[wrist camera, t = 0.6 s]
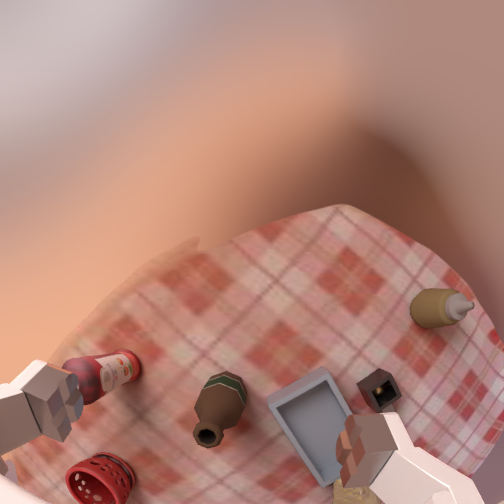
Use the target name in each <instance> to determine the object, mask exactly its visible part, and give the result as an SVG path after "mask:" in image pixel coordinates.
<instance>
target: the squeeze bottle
mask: <svg viewBox="0 0 504 504" xmlns="http://www.w3.org/2000/svg"><path fill="white" fill-rule="evenodd" d="M473 308H474V303H473V302H470V301H468V300H467V298H466V296H465V295H464V294H461V293H459V292H458V291H456V290H454V289H432V288H430V289H424V290H423V291H421V292H420V293H419V294H418V295H417V296H416V297H415V298H414V299H413V301H412V302H411V305H410V315H411V317H412V319H413V320H414V321H415V322H417V323H418V324H419V325H420V326H421V327H423V328H427V329H429V328H437V327H443V326H450V325H454V324H456V323H457V322H458V321H459V320H461V319H463V318H464V317H465V316H466V314H467V312H468V311H470V310H472V309H473Z"/></svg>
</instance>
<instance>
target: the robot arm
mask: <svg viewBox="0 0 504 504" xmlns="http://www.w3.org/2000/svg"><path fill="white" fill-rule="evenodd" d="M78 385H79V380H78V377H77V375H76V374H74V373H73V372H70V371H67V370H65V369H62V368H59V367H57V366H54V365H52V364H48V363H46V362H44V361H41V360H34V361H33V362H32V363H31V364H30V365H29V366H28V367H27V368H26V369H25V370H24V371H23V372H22V373H20V374H19V375H18V376H17V377H16V378H15V379H14V380H13V381H12V382H11V383H10V384H7V383H4V384H0V504H51V503H49V502H47V501H45V500H43V499H42V498H40V497H38V496H36V495H34V494H33V493H31V492H29V491H27V490H26V489H24V488H22V487H21V486H19V485H17V484H15V483H14V482H12V481H11V480H9V479H8V478H6V477H5V474H6V473H7V471H8V466H7V465H6V463H5V462H4V460H3V459H2V457H1V455H3V454H5V453H7V452H9V451H11V450H13V449H15V448H17V447H19V446H21V445H23V444H25V443H27V442H29V441H31V440H33V439H35V438H37V437H39V436H41V435H42V434H43V435H46V436H48V437H50V438H53V439H55V440H57V441H60V442H62V443H63V442H64V440H65V439H66V437H67V436H68V434H69V433H70V431H71V430H72V428H71V423H73V422H75V421H77V420H78V419H79V417H80V416H81V414H82V410H83V396H82V394H81V392H80V391H79V390H78V388H77V386H78ZM344 425H345V430H344V431H342V432H341V433H340V434H339V436H338V439H337V442H336V458H337V461H338V462H339V463H340V464H341V465H342V466H343V467H342V468H341V470H340V476H341V481H342V485H343V488H357V487H368V486H370V487H369V488H370V489H371V490H372V491H373V492H374V493H375V494H376V495H377V496H378V497H379V498H380V499H381V500H382V501H383V502H384V503H385V504H484V502H483V500H482V498H481V496H480V494H479V492H478V490H477V488H476V487H475V485H474V483H473V481H472V480H471V479H470V478H468V477H466V476H464V475H463V474H461V473H459V472H458V471H456V470H454V469H453V468H451V467H449V466H448V465H446V464H445V463H443V462H441V461H440V460H438V459H437V458H435V457H433V456H432V455H430V454H429V453H427V452H425V451H424V450H422V449H421V448H419V447H415V448H414V446H413V443H412V441H411V439H410V437H409V435H408V433H407V431H406V429H405V427H404V425H403V423H402V421H401V419H400V417H399V415H398V414H397V413H396V412H388V413H380V414H379V413H376V414H355V415H349V416H348V417H347V418H346V421H345V423H344ZM497 504H504V500H503V501H501V502H499V503H497Z"/></svg>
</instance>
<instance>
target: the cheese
mask: <svg viewBox="0 0 504 504" xmlns="http://www.w3.org/2000/svg"><path fill="white" fill-rule="evenodd" d="M333 485H334V490H333V495H334V498H333V502H332V504H381V501H380V498H379V497H378V496H377V495H376V494H375V493H374V492H373V491H372V490H371V489H370V488H369V486H368V487H357V488H343V485H342V481H341V478H340V479H337V480H336V481H335V482H334V483H333Z"/></svg>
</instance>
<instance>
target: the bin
mask: <svg viewBox="0 0 504 504" xmlns="http://www.w3.org/2000/svg"><path fill="white" fill-rule="evenodd" d="M267 402H268V407H269V408H270V410H271V412H272V413H273V415H274V416H275V418H276V420H277V421H278V423H279V424H280V426H281V427H282V429H283V431H284V432H285V434H286V435H287V437H288V438H289V440H290V441H291V443H292V444H293V446H294V447H295V449H296V451H297V452H298V454H299V455H300V457H301V458H302V459H303V461H304V462H305V464H306V465H307V467H308V468H309V470H310V471H311V473H312V474H313V476H314V477H315V478H316V480H317V481H318V483H319V484H320V486H321V487H322V488H323V487H325V486H327V485H329V484H331V483H333V482H335V481H336V480H337V479H340V478H341V476H340V470H341V468H342V467H343V466H342V465H341V464H340V463H339V462H338V461H337V458H336V442H337V439H338V436H339V434H340V433H341V432H342V431H344V430H345V425H344V423H345V421H346V418H347V417H348V416H349V415H353V414H352V412H351V411H350V409H349V407H348V405H347V403H346V402H345V400H344V398H343V396H342V394H341V393H340V391H339V389H338V387H337V386H336V384H335V382H334V380H333V378H332V377H331V375H330V373H329V372H328V371H327V370H326V369H325V368H323V367H322V366H321V367H319V368H318V369H316V370H314V371H313V372H311V373H309V374H308V375H306V376H304V377H302V378H301V379H299V380H297V381H295V382H293V383H292V384H290V385H288V386H286V387H284V388H283V389H281V390H279V391H277V392H275V393H273V394H271V395H269V396H267Z"/></svg>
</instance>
